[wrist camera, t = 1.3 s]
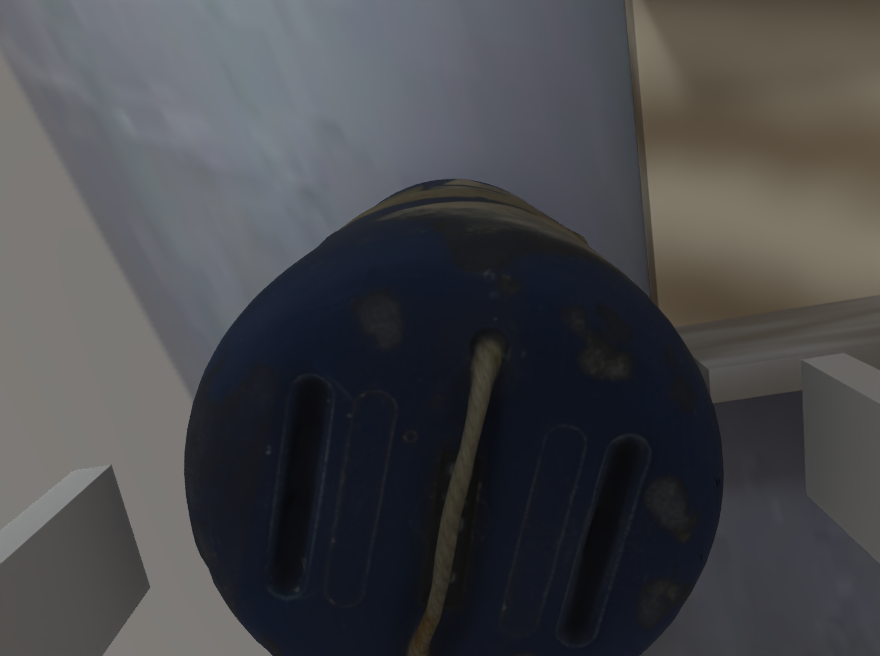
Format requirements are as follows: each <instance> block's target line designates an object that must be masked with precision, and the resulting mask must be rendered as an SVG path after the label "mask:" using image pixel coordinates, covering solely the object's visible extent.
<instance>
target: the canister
mask: <svg viewBox="0 0 880 656" xmlns="http://www.w3.org/2000/svg"><path fill="white" fill-rule="evenodd" d="M184 476H185V489H186V498H187V504H188V510H189V516H190V521H191V526H192V531H193V535H194V539H195V543H196V546H197V548H198V550H199V553H200V555H201V557H202V559H203V560H204V562H205V563H206V565H207V567H208V568H209V571H210V574H211V576H212V579H213V582H214V584H215V586H216V588H217V589H218V591H219V592H220V594H221V596H222V597H223V599H224V601H225V602H226V604H227V605H228V607H229V608H230V610H231V611H232V613H233V614H234V615H235V617H237V619H238V620H239V622H240V623H241V624H242V625H243V626H244V627H245V629H247V631H248V632H249V633H250V634H251V635H252V636H253V638H254V639H255V640H256V641H257V642H258V643H260V644H261V645H262V646H263V647H264V648H266V649H267V650H268V651H269V652H270V653H271V654H272V655H273V656H639V655H640V654H642V653H643V652H644V651H645V650H646V649H647V648H648V647H649V646H650V645H651V644H652V643H653V642H654V641H655V640H656V639H657V638H658V637H659V636H660V635H661V634H662V633H663V632H664V631H665V629H666V628H667V627H668V626H669V625H670V624H671V623H672V621H673V620H674V619H675V617H676V616H677V614H678V612H679V611H680V609H681V607H682V606H683V604H684V603H685V601H686V600H687V598H688V596H689V595H690V593H691V592H692V590H693V588H694V586H695V584H696V582H697V580H698V578H699V576H700V574H701V572H702V570H703V568H704V566H705V564H706V562H707V559H708V556H709V553H710V550H711V547H712V544H713V541H714V537H715V534H716V530H717V527H718V523H719V517H720V511H721V503H722V494H723V477H724V472H723V458H722V445H721V437H720V431H719V426H718V422H717V418H716V413H715V409H714V405H713V402H712V400H711V397H710V394H709V391H708V389H707V386H706V383H705V380H704V378H703V376H702V374H701V372H700V369H699V367H698V366H697V364H696V362H695V360H694V358H693V356H692V354H691V353H690V351H689V349H688V348H687V346H686V344H685V343H684V341H683V340H682V338H681V337H680V335H679V334H678V332H677V331H676V329H675V328H674V326H673V325H672V323H671V322H670V321H669V319H668V318H667V317H666V316H665V315H664V314H663V312H662V311H661V310H660V309H659V308H658V307H657V306H656V305H655V304H654V303H653V302H652V301H651V300H650V299H649V297H648V296H647V295H646V294H645V293H644V292H643V291H642V290H641V289H640V288H639V287H638V286H637V285H636V284H635V283H634V282H632V281H631V280H630V279H629V278H628V277H627V276H626V275H625V274H623V273H622V272H621V271H620V270H619V269H617V268H616V267H615V266H613V265H612V264H611V263H610V262H608V261H607V260H606V259H604V258H603V257H602V256H601V255H599V254H598V253H597V252H595V251H594V250H593V249H592V248H590V247H589V245H588V244H587V242H586V240H585V239H584V237H582V236H581V235H580V234H577V233H575V232H573V231H571V230H569V229H567V228H565V227H564V226H563V225H561V224H560V223H558V222H556V221H555V220H553V219H552V218H550V217H548V216H547V215H545V214H544V213H542V212H540V211H539V210H537V209H535V208H534V207H532V206H531V205H530V204H528V203H527V202H525V201H523V200H522V199H520V198H518V197H517V196H515V195H513V194H511V193H509V192H507V191H505V190H503V189H500V188H498V187H495V186H492V185H489V184H486V183H481V182H477V181H472V180H465V179H445V180H435V181H429V182H424V183H420V184H417V185H414V186H411V187H408V188H406V189H403V190H401V191H399V192H397V193H395V194H393V195H391V196H390V197H388V198H386V199H385V200H383V201H381V202H380V203H379V204H377V205H376V206H375V207H373V208H371V209H369V210H367V211H365V212H364V213H362V214H361V215H359V216H358V217H356V218H355V219H353V220H352V221H350V222H349V223H348V224H346V225H345V226H344V227H342V228H341V229H340V230H338V231H336V232H335V233H333V234H331V235H330V236H329V237H327V238H326V239H325V240H324V241H323V242H322V243H321V244H320V245H319V246H318V247H317V248H316V249H314V250H313V251H311V252H310V253H309V254H307V255H306V256H304V257H303V258H302V259H300V260H299V261H298V262H296V263H295V264H293V265H292V266H291V267H289V268H288V269H287V270H286V271H284V272H283V273H282V274H281V275H279V276H278V277H277V278H276V279H275V280H274V281H273V282H271V283H270V284H269V285H268V286H267V287H266V288H265V289H264V290H263V291H262V292H260V293H259V294H258V295H257V296H256V297H255V298H254V299H253V300H252V301H251V303H250V304H249V305H248V306H247V307H246V309H245V310H244V311H243V312H242V313H241V314H240V316H239V317H238V318H237V319H236V321H235V322H234V323H233V324H232V326H231V327H230V328H229V330H228V331H227V333H226V334H225V335H224V337H223V338H222V340H221V341H220V343H219V345H218V347H217V348H216V350H215V352H214V354H213V356H212V358H211V359H210V361H209V363H208V365H207V367H206V369H205V371H204V374H203V376H202V379H201V381H200V384H199V387H198V390H197V393H196V396H195V399H194V402H193V406H192V410H191V415H190V420H189V424H188V429H187V437H186V445H185V460H184Z"/></svg>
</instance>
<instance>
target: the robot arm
mask: <svg viewBox="0 0 880 656" xmlns="http://www.w3.org/2000/svg"><path fill="white" fill-rule="evenodd" d="M801 369H802V397H803V425H804V454H805V482H806V495H807V496H808V497H809V498H810V499H811V500H812V501H813V502H814V503H815V504H816V505H817V506H819V507H820V508H821V509H822V510H823V511H824V512H825V513H826V514H827V515H828V516H829V517H830V518H831V519H832V520H833V521H835V522H836V523H837V524H838V525H839V526H840V527H841V528H842V529H843V530H844V531H845V532H846V533H847V534H848V535H850V536H851V537H852V538H853V539H854V540H855V541H856V542H857V543H858V544H859V545H860V546H861V547H862V548H863V549H864V550H866V551H867V552H868V553H869V554H870V555H871V556H872V557H873V558H874V559H875V560H876V561H877V562H878V563H879V564H880V370H878V369H876V368H874V367H872V366H870V365H868V364H866V363H864V362H862V361H860V360H858V359H856V358H853V357H851V356H849V355H847V354H845V353H840V354H834V355H827V356H820V357H814V358H807V359H801ZM149 588H150V585H149V582H148V579H147V576H146V572H145V569H144V566H143V563H142V560H141V557H140V554H139V550H138V547H137V544H136V541H135V538H134V534H133V531H132V528H131V525H130V522H129V519H128V516H127V512H126V509H125V507H124V503H123V500H122V497H121V494H120V490H119V487H118V485H117V481H116V478H115V475H114V472H113V469H112V465H106V466H99V467H93V468H86V469H80V470H74V471H72V472H71V473H70V474H69V475H67V476H66V477H65V478H64V479H63V480H61V481H60V482H59V483H58V484H56V485H55V486H54V487H53V488H51V489H50V490H49V491H48V492H47V493H45V494H44V495H43V496H42V497H41V498H39V499H38V500H37V501H36V502H34V503H33V504H32V505H31V506H30V507H28V508H27V509H26V510H25V511H23V512H22V513H21V514H20V515H19V516H17V517H16V518H15V519H14V520H12V521H11V522H10V523H9V524H8V525H6V526H5V527H4V528H3V529H2V530H0V656H102V655H103V654H104V652H105V651H106V650H107V648H108V647H109V645H110V644H111V642H112V641H113V640H114V638H115V636H116V635H117V634H118V633H119V631H120V630H121V628H122V627H123V625H124V624H125V623H126V621H127V619H128V618H129V617H130V615H131V614H132V613H133V611H134V610H135V608H136V607H137V606H138V604H139V602H140V601H141V600H142V598H143V597H144V596H145V594H146V593H147V591H148V590H149Z"/></svg>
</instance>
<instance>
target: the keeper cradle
mask: <svg viewBox="0 0 880 656" xmlns="http://www.w3.org/2000/svg"><path fill="white" fill-rule="evenodd" d="M625 11H626V22H627V33H628V45H629V56H630V67H631V79H632V90H633V102H634V113H635V124H636V136H637V147H638V159H639V170H640V181H641V193H642V204H643V215H644V227H645V238H646V250H647V261H648V272H649V284H650V295H651V301H652V302H653V303H654V304H655V305H656V306H657V307H658V308H659V309H660V310H661V311H662V312H663V314H664V315H665V316H666V317H667V318H668V319H669V321H670V322H671V323H672V325H673V326H674V328H675V329H676V331H677V332H678V334H679V335H680V337H681V338H682V340H683V341H684V343H685V344H686V346H687V348H688V349H689V351H690V353H691V354H692V356H693V358H694V360H695V362H696V364H697V366H698V367H699V369H700V372H701V374H702V376H703V378H704V380H705V383H706V386H707V389H708V391H709V394H710V397H711V400H712V402H713V403H720V402H727V401H734V400H740V399H747V398H754V397H760V396H767V395H774V394H780V393H787V392H794V391H800V390H802V369H801V359H807V358H814V357H820V356H827V355H834V354H840V353H845V354H847V355H849V356H851V357H853V358H856V359H858V360H860V361H862V362H864V363H866V364H868V365H870V366H872V367H874V368H876V369H878V370H880V0H625Z"/></svg>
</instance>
